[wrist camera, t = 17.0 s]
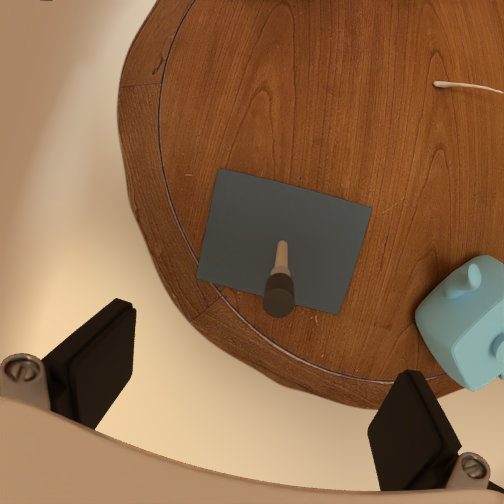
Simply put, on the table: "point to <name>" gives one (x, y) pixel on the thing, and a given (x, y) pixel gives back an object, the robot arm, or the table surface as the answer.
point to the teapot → (467, 322)
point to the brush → (279, 286)
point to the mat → (281, 238)
